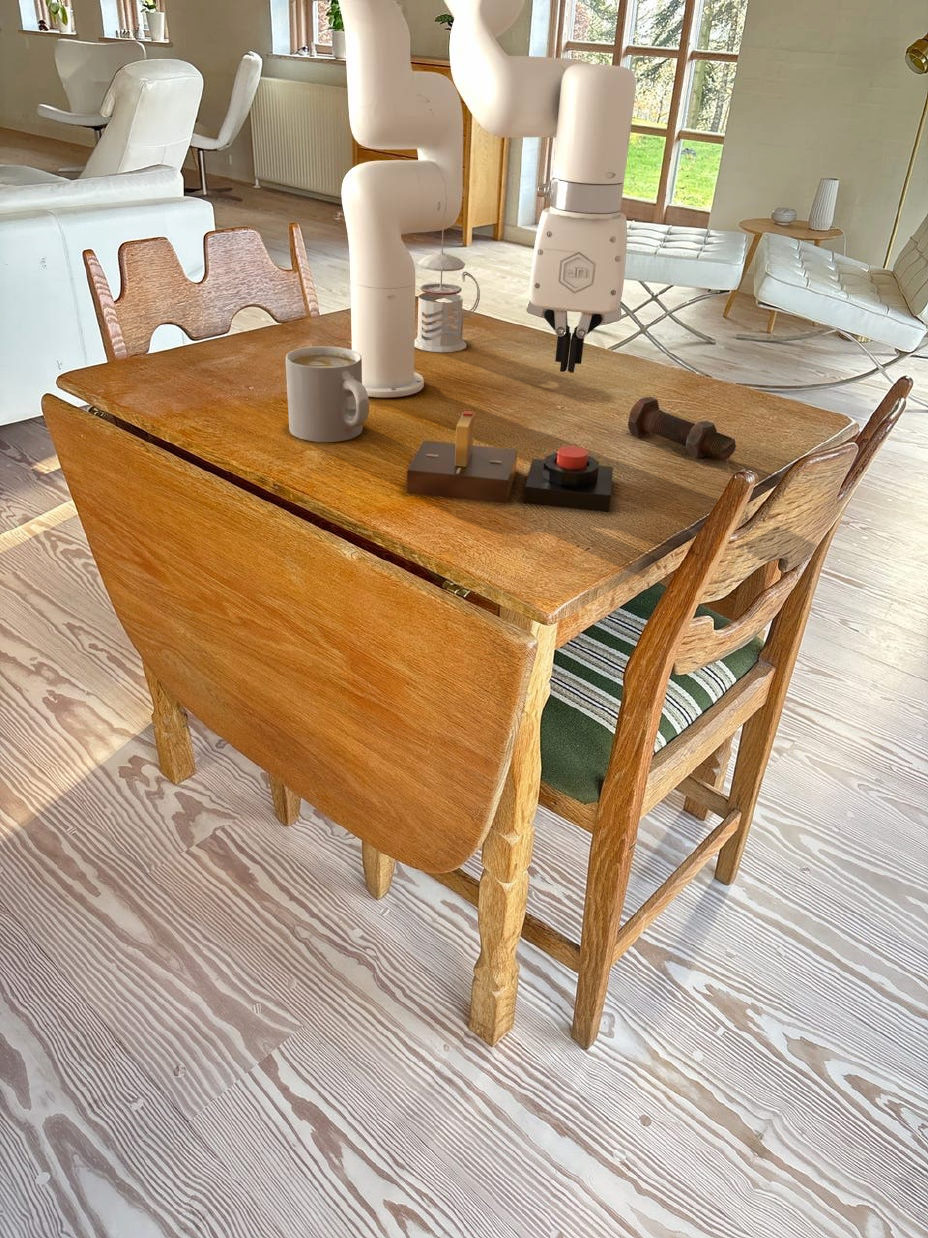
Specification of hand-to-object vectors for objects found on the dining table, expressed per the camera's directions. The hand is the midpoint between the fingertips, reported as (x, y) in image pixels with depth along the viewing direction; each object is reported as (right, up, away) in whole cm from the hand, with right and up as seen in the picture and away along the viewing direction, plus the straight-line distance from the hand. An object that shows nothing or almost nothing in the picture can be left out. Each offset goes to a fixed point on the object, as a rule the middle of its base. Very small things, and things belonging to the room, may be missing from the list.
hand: (567, 368), depth 111 cm
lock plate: (-12, -12, +6) cm, 18 cm away
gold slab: (-12, -10, +5) cm, 16 cm away
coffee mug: (-30, -4, +19) cm, 36 cm away
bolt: (+17, -6, +19) cm, 27 cm away
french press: (-16, +19, +59) cm, 64 cm away
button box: (+1, -14, +5) cm, 15 cm away
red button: (+1, -11, +3) cm, 11 cm away
